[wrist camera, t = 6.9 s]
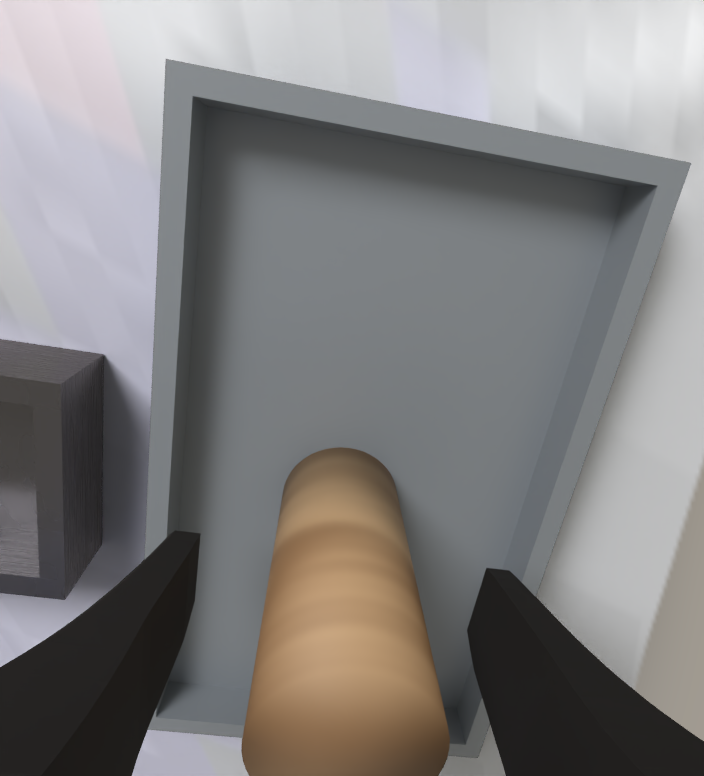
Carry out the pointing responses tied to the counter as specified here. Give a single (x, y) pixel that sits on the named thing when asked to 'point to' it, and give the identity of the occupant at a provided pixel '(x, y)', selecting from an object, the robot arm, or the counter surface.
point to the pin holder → (49, 467)
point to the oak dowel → (343, 634)
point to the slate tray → (378, 346)
